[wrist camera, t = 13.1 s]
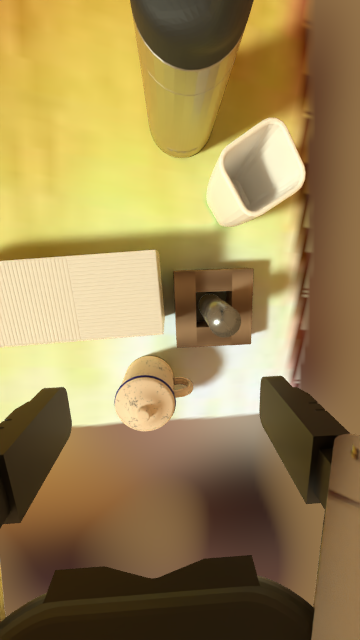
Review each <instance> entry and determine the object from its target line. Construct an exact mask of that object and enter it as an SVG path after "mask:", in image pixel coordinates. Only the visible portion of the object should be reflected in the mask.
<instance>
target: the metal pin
mask: <svg viewBox="0 0 360 640" xmlns="http://www.w3.org/2000/svg"><path fill="white" fill-rule="evenodd" d="M198 308H199V311H200V312H201V314H202V316H203V317H204V319H205V321H206V322H207V324H208V326H209V327H210V329H211V331H212V332H213V333H214V334H215V335H217V336H219V337H223V338H226V337H230V336H232V335H234V334H235V333H236V332H237V331H238V330H239V328H240V326H241V317H240V314H239V313H238V311H237V310H236V309H234V308H233V307H231V306H230V305H229V304H227V303H226V302H225V301H223V300H222V299H221V298H219V297H218V296H217V295H215V294H206V295H204V296H202V297H201V298H200V300H199V303H198Z"/></svg>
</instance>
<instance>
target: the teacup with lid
mask: <svg viewBox="0 0 360 640" xmlns="http://www.w3.org/2000/svg"><path fill="white" fill-rule="evenodd" d="M175 384H183V385H186V386H187V387H185V388H182V389H177V390H174V385H175ZM192 390H193V384H192V382H191V381H190V380H189V379H187V378H184V377H173V372H172V370H171V368H170V366H169V365H168V364H167V363H166V362H165V361H164V360H162V359H161V358H158V357H155V356H144V357H141V358H138V359H136V360H135V361H134V362H132V363H131V365H130V366H129V367H128V369H127V372H126V374H125V377H124V379H123V382H122V385H121V386H120V388H119V389H118V391H117V393H116V396H115V409H116V413H117V415H118V417H119V418H120V420H121V421H122V422H123V423H124V424H125V425H127V426H128V427H130V428H132V429H135V430H139V431H151V430H155V429H158V428H160V427H162V426H163V425H164V424H166V423H167V422H168V421H169V420H170V418H171V417H172V415H173V413H174V411H175V406H176V399H175V398H176V397H183V396H186V395H188V394H190V393H191V392H192Z"/></svg>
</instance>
